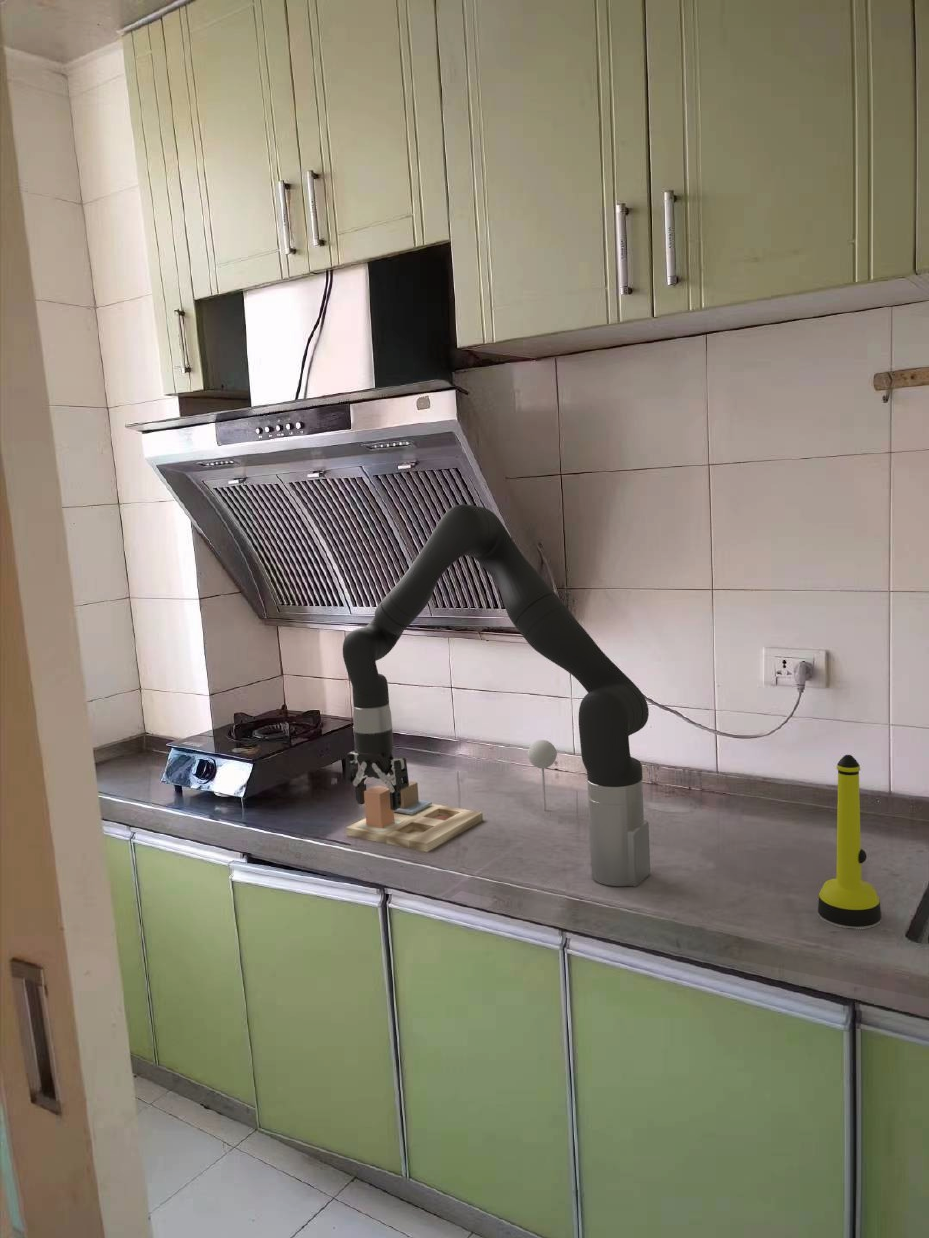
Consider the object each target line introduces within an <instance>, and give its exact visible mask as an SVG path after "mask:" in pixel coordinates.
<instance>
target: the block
mask: <svg viewBox="0 0 929 1238" xmlns="http://www.w3.org/2000/svg"><path fill="white" fill-rule="evenodd" d="M389 792H391V791H390V790H389V788H388V787H386V786H380V785H376V786H375V785H374V786H373V787H371V788H369V789H366V791H364V800H365V803H364V811H365V818H366V825H367V826H372V827H377V828H384V827H386V826H388V825H390V824H392V823H394V822H395V820H394V810H391V807H390V793H389Z"/></svg>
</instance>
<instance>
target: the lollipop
mask: <svg viewBox="0 0 929 1238" xmlns="http://www.w3.org/2000/svg"><path fill="white" fill-rule="evenodd" d="M557 755H558V751H557V749H556V747H555V745H554V744H553V743H552V742H551V741H548V740H545V739H538V740H535V741H534V742H533V743H531V744H530V746H529V747H528V750H527V757H528V761H530V763H531V765H533V767H536V768H537V769H541V778H542V779H541V780H542V797H543V798H542V799H543V801H542V803H543V811H547V801H546V785H545V784H546V783H545V782H546V781H545V780H546V779H545V769H547V768H550V767H551V766H552V765H553V764H554V763H555V761H556V759H557Z"/></svg>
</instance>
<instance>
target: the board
mask: <svg viewBox="0 0 929 1238" xmlns="http://www.w3.org/2000/svg"><path fill="white" fill-rule="evenodd" d="M483 816H484V815H483V812H482V811H478V810H477V811H476V810H470V809H464V808H460V807H459V808H458V807H453V806H446V805H440V804H435V803H432V805H430V806H428V807H426V808H424V809H422V810H420V811H418V812H416V813H414V814H412V815H411V814H405V813H400V812H394V820H395V822H394V823H392V824H390V825H388V826H386V827H384V828H377V827H372V826H367V825H366V817H365V818H363V819H361V820H359V821H357V822H355V823H352V824H350V825H348V826H346V827H345V829H346V836H348V837H353V838H358V839H362V840H366V841H367V840H368V841H373V842H377V843H382V844H386V845H392V846H395V847H396V846H397V847H401V848H405V849H410V850H416V851H420V852H425V853H428V852H430V851H432V850H434V849H435V848H437V847H438V846H440V845H442V844H444V843H446V842H448V841H449V840H451V839H452V838H455V837H456V836H458V835H459V834H461V833H463V832H465V831H466V830H468V829H470V828H472V827H473V826H475V825H478V824H479V823H480V822H482V821H483V820H484V817H483Z"/></svg>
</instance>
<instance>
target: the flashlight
mask: <svg viewBox="0 0 929 1238" xmlns="http://www.w3.org/2000/svg"><path fill="white" fill-rule="evenodd" d="M836 770H837V809H836V810H837V811H836V812H837V816H836V817H837V819H836V822H837V823H836V824H837V825H836V871H835V872H836V877H835V878H832V879H828V880H826V881H825V882H824V884H822V887H821V889H820V891H819V894H818V902H817V916H818V915H819V916H820V917H819V916H818V917H819V919H820V918H821V920H822V919H823V920H825V921H826V922H828V923H830V924H829V925H831V924H832V925H831V926H833V925H834V927H836V926H841V927H845V928H844V929H846V928H857V929H856V930H861V929H860V928H869V927H873V928H875V927H877V926H879V925H880V924H881V923H882V913H881V901H880V900H881V899H880V898H879V895H878V893H877V891H876V890H875V888H874V886H873V885H871V883H869V882H867V881H865V880H862V864H863V863H864V862H866V861H867V857H868V856H867V853H866V851H865V850H864V849H862V846H861V841H862V839H861V837H862V836H861V810H860V809H861V807H860V806H861V803H860V802H861V801H860V800H861V799H860V797H861V796H860V771H861V766H860V763H859V762H858V760H857V759H856V758H855V757H854V756H852V754H845V755H844V756H842V757H841V758H840V759H839V761H838V763H837V765H836ZM823 920H822V921H823ZM825 921H824V922H825ZM826 922H825V923H826ZM880 922H881V923H880ZM828 923H827V924H828ZM878 924H879V925H878ZM874 926H875V927H874ZM858 928H859V929H858ZM869 929H870V928H869Z"/></svg>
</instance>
